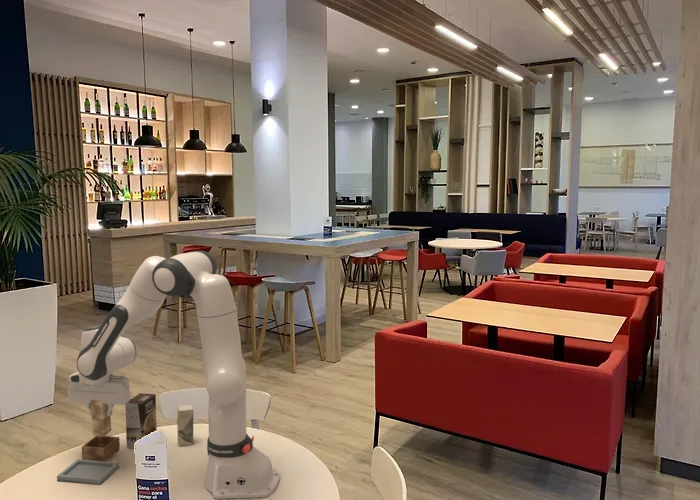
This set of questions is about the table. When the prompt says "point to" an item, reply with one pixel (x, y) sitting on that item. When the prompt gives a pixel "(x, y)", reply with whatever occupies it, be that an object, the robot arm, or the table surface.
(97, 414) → the pin
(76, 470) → the tray
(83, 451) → the holder
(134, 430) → the coffee box
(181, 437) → the box
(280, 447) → the table surface
